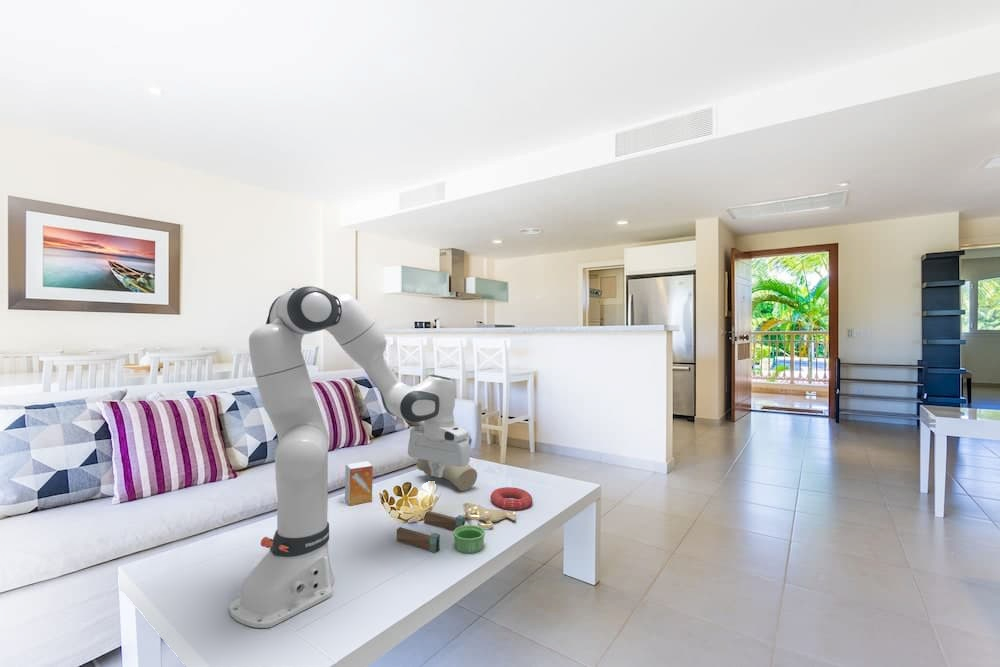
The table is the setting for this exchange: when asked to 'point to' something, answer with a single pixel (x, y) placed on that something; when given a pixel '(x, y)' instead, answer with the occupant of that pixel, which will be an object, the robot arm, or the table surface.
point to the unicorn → (486, 514)
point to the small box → (358, 483)
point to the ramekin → (469, 538)
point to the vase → (452, 474)
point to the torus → (510, 504)
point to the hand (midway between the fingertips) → (436, 476)
